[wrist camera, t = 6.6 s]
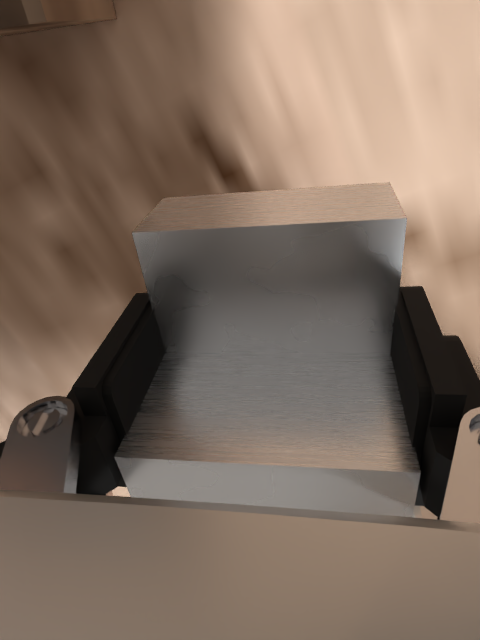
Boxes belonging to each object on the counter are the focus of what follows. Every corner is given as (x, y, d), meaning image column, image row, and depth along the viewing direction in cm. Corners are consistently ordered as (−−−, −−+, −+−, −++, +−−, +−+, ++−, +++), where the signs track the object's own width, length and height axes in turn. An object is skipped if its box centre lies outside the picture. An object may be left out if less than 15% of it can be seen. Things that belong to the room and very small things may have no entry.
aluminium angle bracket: (389, 182, 11) (452, 310, 6) (375, 365, 14) (407, 547, 9) (163, 197, 12) (55, 316, 7) (199, 364, 15) (142, 525, 10)
